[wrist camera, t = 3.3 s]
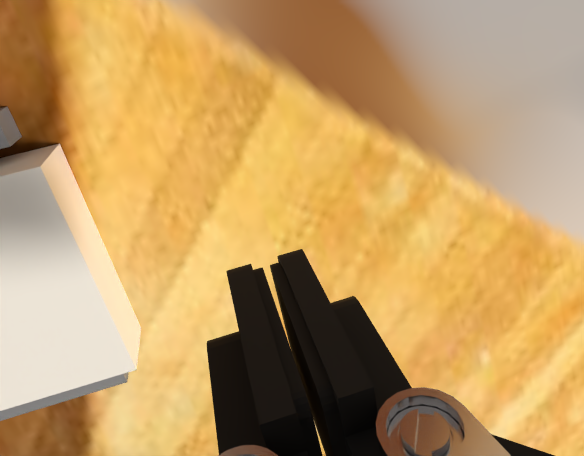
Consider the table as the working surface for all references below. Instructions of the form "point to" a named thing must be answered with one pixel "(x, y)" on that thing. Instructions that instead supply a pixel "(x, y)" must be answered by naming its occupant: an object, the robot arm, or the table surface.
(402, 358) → the table surface
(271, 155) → the table surface
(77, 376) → the white rounded slab
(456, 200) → the table surface
